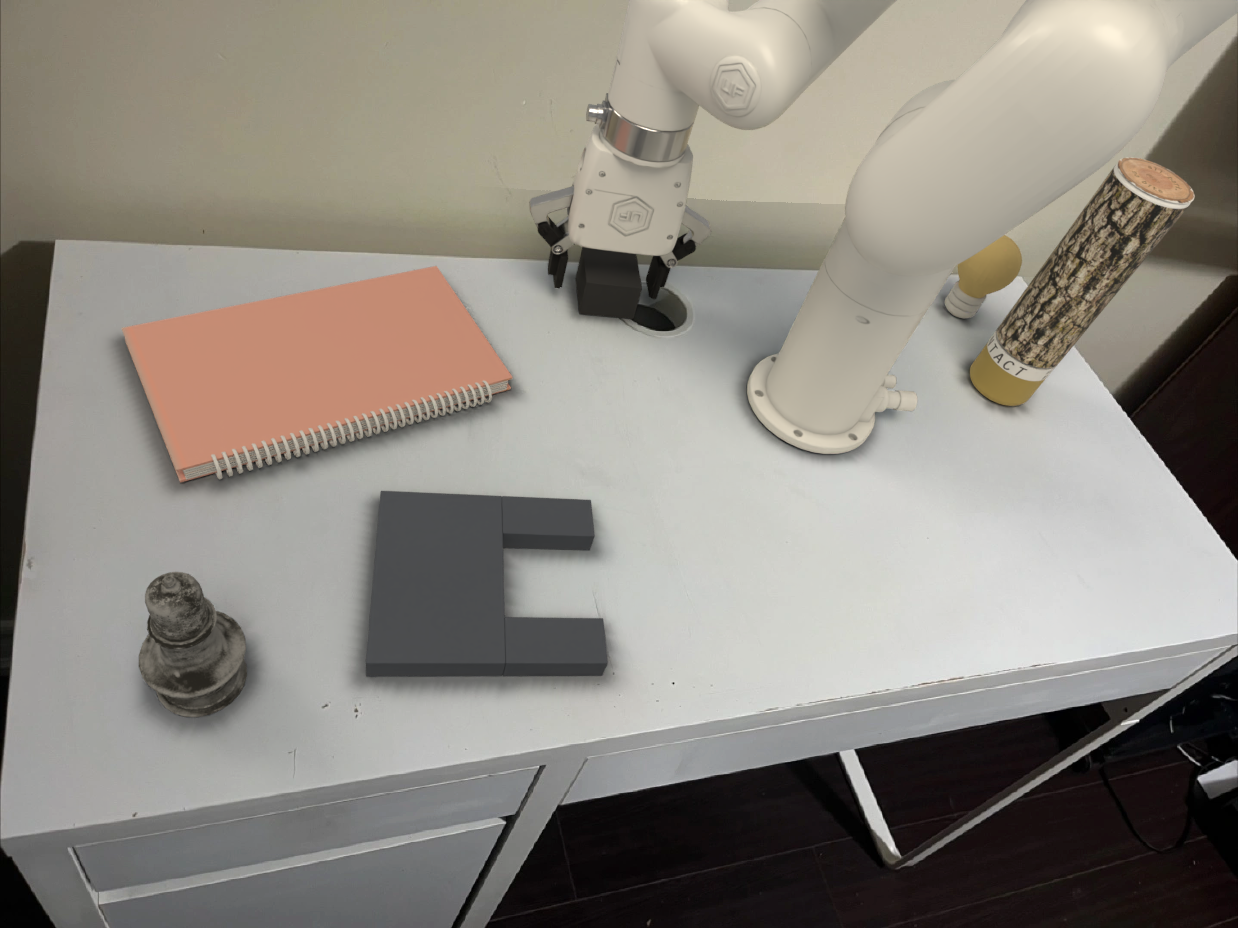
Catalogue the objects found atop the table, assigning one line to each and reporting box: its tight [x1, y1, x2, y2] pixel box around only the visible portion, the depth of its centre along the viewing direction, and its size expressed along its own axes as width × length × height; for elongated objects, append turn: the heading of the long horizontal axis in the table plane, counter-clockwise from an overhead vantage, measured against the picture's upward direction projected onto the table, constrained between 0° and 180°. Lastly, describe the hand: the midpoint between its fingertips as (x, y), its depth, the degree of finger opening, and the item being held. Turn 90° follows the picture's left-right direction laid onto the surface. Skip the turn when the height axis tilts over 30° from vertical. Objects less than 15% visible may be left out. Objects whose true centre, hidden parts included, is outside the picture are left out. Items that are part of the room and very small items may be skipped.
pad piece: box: [575, 247, 643, 320], centre depth 85 cm, size 6×6×4 cm
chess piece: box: [138, 571, 248, 718], centre depth 50 cm, size 6×6×12 cm
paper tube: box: [969, 156, 1196, 407], centre depth 82 cm, size 7×7×25 cm
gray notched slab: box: [365, 490, 609, 678], centre depth 62 cm, size 16×14×2 cm
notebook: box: [121, 265, 514, 483], centre depth 72 cm, size 27×17×2 cm, turn 122°
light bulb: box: [944, 234, 1023, 319], centre depth 95 cm, size 6×6×10 cm
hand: (604, 284), depth 86 cm, fingers open, 9 cm apart
